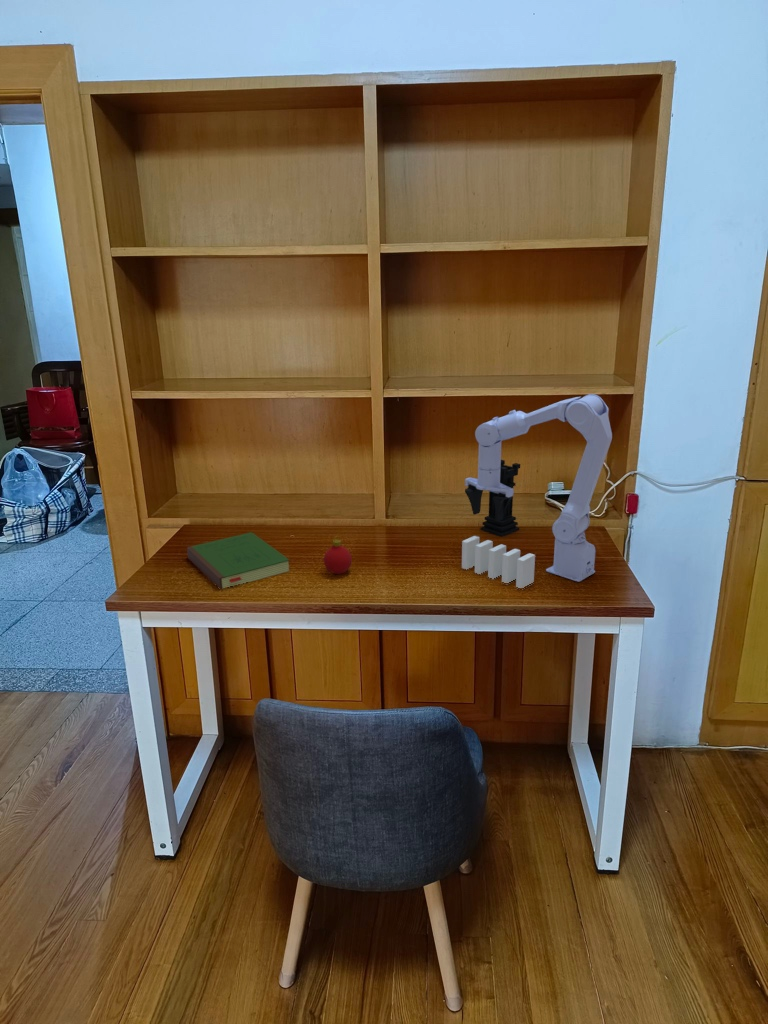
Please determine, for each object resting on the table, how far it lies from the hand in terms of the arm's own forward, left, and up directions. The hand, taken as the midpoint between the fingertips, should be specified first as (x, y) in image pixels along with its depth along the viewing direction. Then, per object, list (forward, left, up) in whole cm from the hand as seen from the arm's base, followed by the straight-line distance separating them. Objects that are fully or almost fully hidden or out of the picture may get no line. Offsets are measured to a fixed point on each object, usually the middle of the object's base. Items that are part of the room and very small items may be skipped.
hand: (487, 516), depth 180 cm
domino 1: (-2, +10, -10) cm, 14 cm away
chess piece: (+8, -16, -11) cm, 21 cm away
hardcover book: (+43, +51, -11) cm, 67 cm away
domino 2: (-6, +10, -10) cm, 15 cm away
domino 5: (-19, +10, -10) cm, 24 cm away
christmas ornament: (+20, +36, -11) cm, 42 cm away
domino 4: (-15, +10, -10) cm, 20 cm away
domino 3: (-11, +10, -10) cm, 18 cm away
